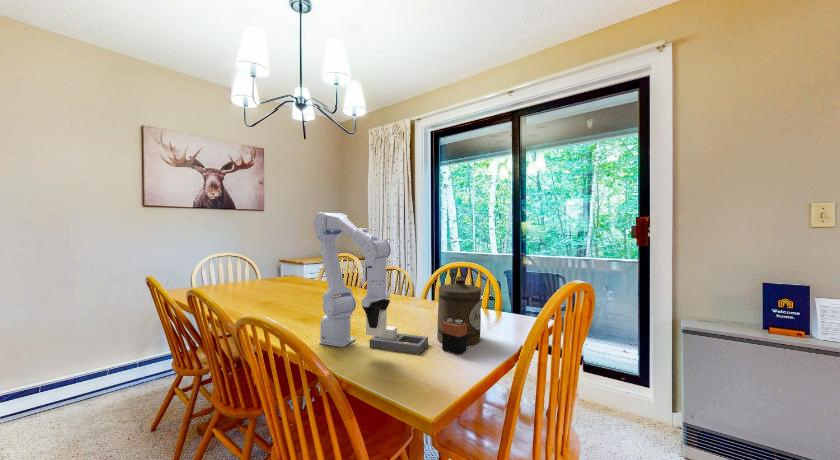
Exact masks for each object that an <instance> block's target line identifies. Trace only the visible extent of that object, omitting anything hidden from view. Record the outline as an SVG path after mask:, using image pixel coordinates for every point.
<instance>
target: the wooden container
mask: <svg viewBox="0 0 840 460" xmlns="http://www.w3.org/2000/svg"><path fill="white" fill-rule="evenodd" d="M454 282H455V283H449V284H441V285H440V286H439V287H438V301H437V302H438V304H437V331H436V332H437V333H436V334H437V336H436V337H437V341H439V343H441V344H442V325H443V322H444V321H447V320H448V318H452V320H462V322H464V323H466V324H467V347H473V346H476V345H478V344H479V343H480V342H481V327H482V326H481V322H482V321H481V319H482V317H481V312H482V311H481V306H482V305H481V304H482V303H481V300H482V299H481V298H482V297H481V296H482V288H481V287H479V286H478V285H473V284H466V283H465V278H464V277H463V276H456V277H455V278H454Z"/></svg>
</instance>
